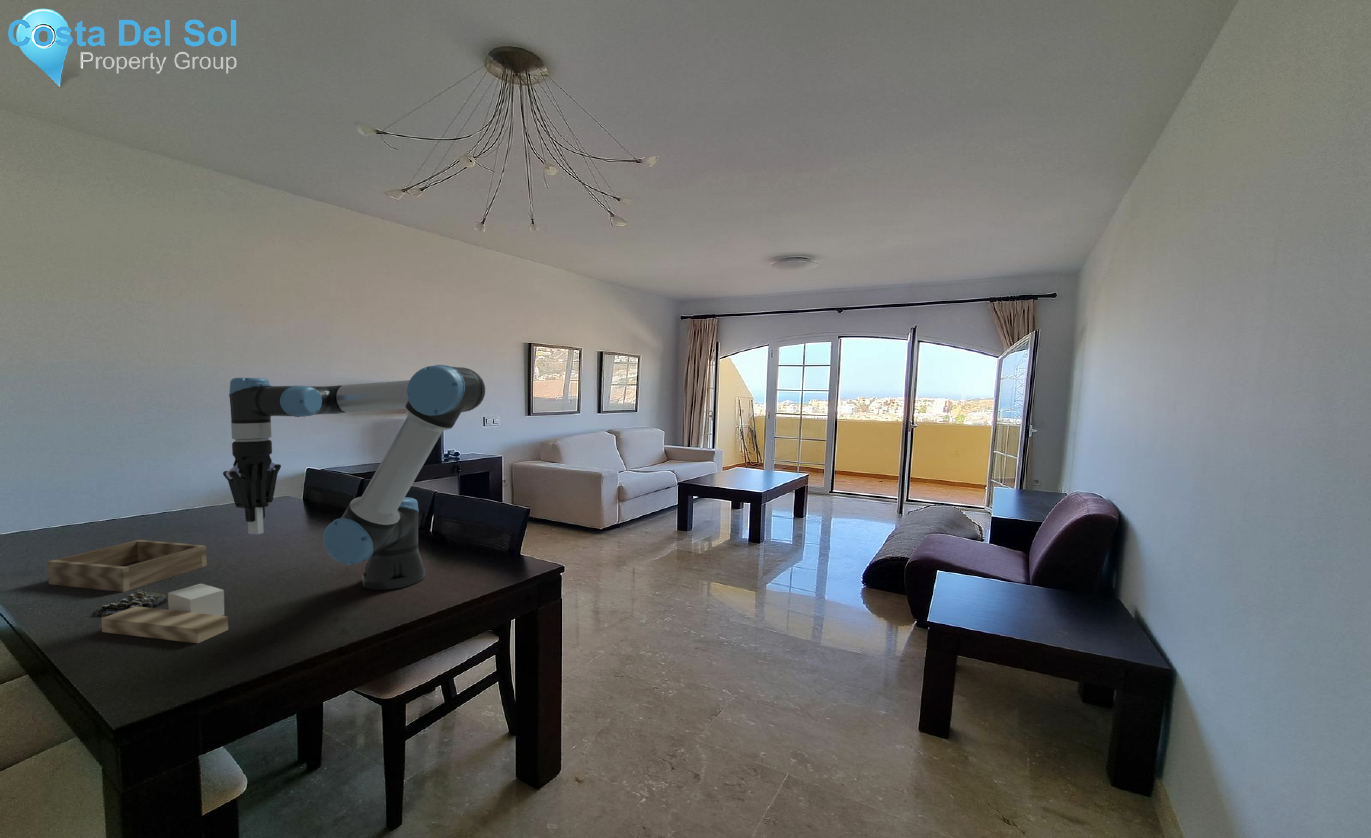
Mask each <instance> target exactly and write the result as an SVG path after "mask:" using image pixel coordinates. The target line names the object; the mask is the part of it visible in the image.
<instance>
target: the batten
mask: <svg viewBox="0 0 1371 838" xmlns="http://www.w3.org/2000/svg"><path fill="white" fill-rule="evenodd" d="M100 618H101V632H102V633H107V634H108V633H109V634H116V635H117V634H118V635H126V636H134V637H140V638H141V637H144V638H148V639H149V638H150V639H159V640H166V641H174V642H184V643H192V644H200V643H203V642H204V641H206V640H209V639H211V638H212V637H215V636H218V635H220V634H222V633H224V632H226V631H229V616H228V615H227V616H226V615H223V616H219V615H210V614H201V613H192V612H183V611H174V610H169V609H163V608H146V607H137V606H135V607H133V608H130V609H127V610H124V611H121V612H118V613H115V614H112V615H109V616H106V617H100Z"/></svg>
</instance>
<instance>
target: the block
mask: <svg viewBox="0 0 1371 838" xmlns="http://www.w3.org/2000/svg"><path fill="white" fill-rule="evenodd" d="M167 595H168V596H167V597H168V602H167V603H168V605H167V606H168V610H174V611H183V612H192V613H201V614H210V615H219V616H225V590H224V589H221V588H218V587H215V586H212V585H207V584H204V583H198V584H194V585H190V586H187V587H184V588H180V589H176V590H171V591H169V592H168V593H167Z"/></svg>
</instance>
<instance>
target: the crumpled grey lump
mask: <svg viewBox="0 0 1371 838" xmlns="http://www.w3.org/2000/svg"><path fill="white" fill-rule="evenodd" d="M166 603H168V596H167V595H166V594H164V593H163V594H162V593H159V592H146V591H143V590H140V589H139V590H134V591H133V593H131V594H129V595H128V596H123V597H121V598H118V599H115V600H114V601H113V602H108V604H107V603H103V604H102V605H100V606H99V607H98V608H97V609H96V610H95V612H94V617H96V618H98V617H100V618H103V617H106V616H109V615H112V614H115V613H118V612H121V611H124V610H127V609H130V608H133V607H135V606H137V607H146V608H155V609H157V608H158V607H160V606H163V605H164V604H166Z"/></svg>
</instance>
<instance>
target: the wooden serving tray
mask: <svg viewBox="0 0 1371 838" xmlns="http://www.w3.org/2000/svg"><path fill="white" fill-rule="evenodd" d="M207 565H208V563H207V545H203V544H192V543H181V542H180V543H179V542H168V541H157V540H155V541H154V540H148V539H147V540H145V539H144V540H143V539H136V540H132V541H128V542H123V543H120V544H114V545H111V546H107V547H102V548H99V549H95V550H89V551H85V552H82V553H78V554H73V555H69V556H65V557H64V556H63V557H60V558H57V559H52V560H48V561H47V572H48V573H47V576H48V585H54V586H61V587H62V586H64V587H73V588H82V589H91V590H93V589H94V590H102V591H111V592H118V593H119V592H121V593H125V592H128V591H130V590H131V591H132V590H135V589H138V588H141V587H143V586H148V585H150V584H153V583H156V582H160V581H162V580H163V581H164V580H167V579H169V578H172V577H176V576H179V575H182V574H185V573H188V572H192V571H196V570H198V569H202V568H205V567H207Z"/></svg>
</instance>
